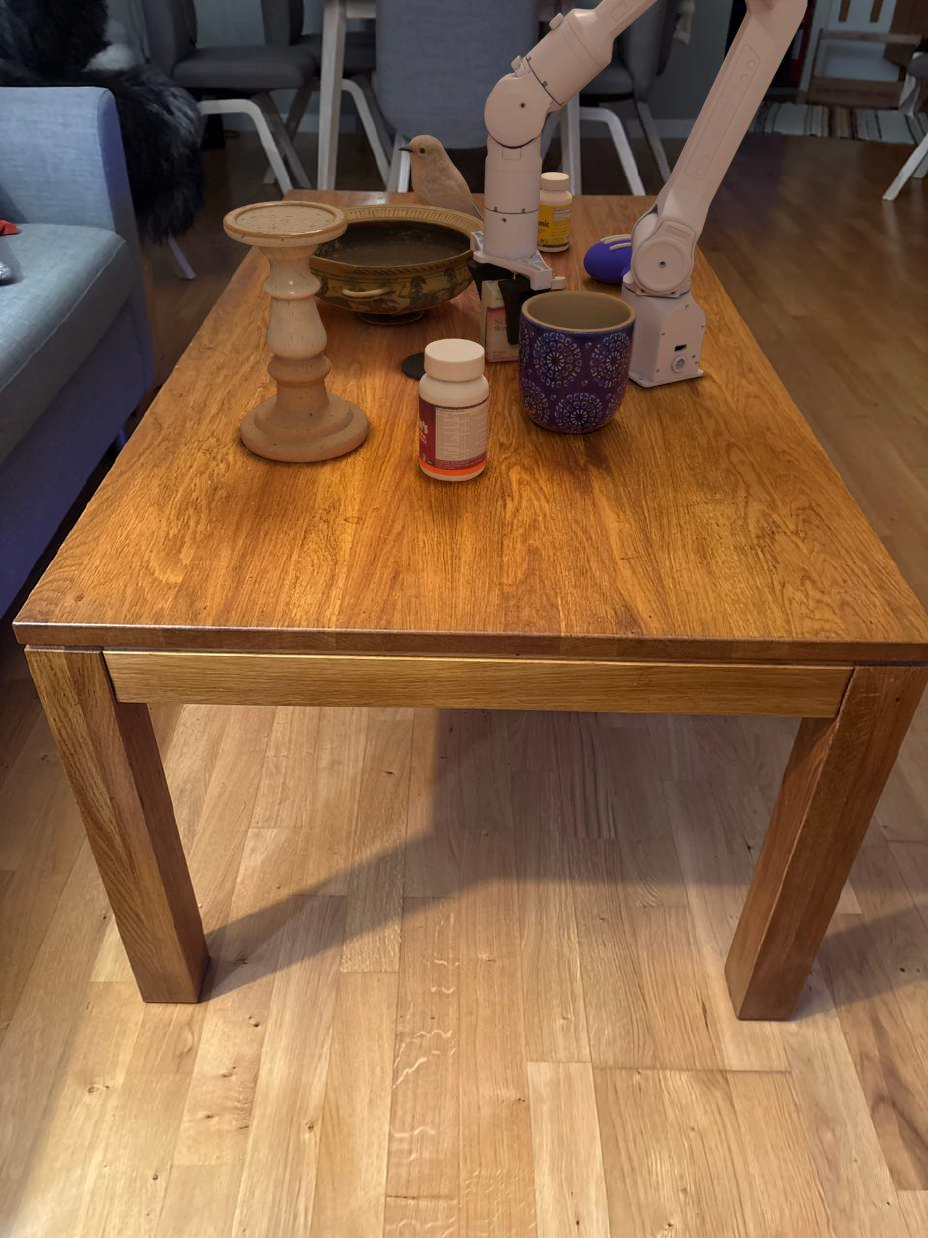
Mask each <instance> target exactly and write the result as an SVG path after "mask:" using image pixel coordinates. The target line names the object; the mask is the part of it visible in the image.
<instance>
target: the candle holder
mask: <svg viewBox="0 0 928 1238" xmlns="http://www.w3.org/2000/svg"><path fill="white" fill-rule="evenodd" d="M338 208H339V207H337V206H334V205H330V204H326V203H321V202H315V201H308V200H307V201H306V200H274V201H273V200H272V201H264V202H263V201H262V202H257V203H253V204H247V205H245V206H241V207H237V208H235V209H233V210H231V211H230V212H228V213H227V214H225V216H224V217H223V220H222V226H223V230H224V232H225V235H226V236H227V237H228V238H230V239H232V240H234V241H236V242H239V243H242V244H246V245H249V246H253V247H254V246H255V247H257V249H258V250H259V252H260V253H261V254H262V255H264V256H265V257H266V258H267V261H268V263H269V268H270V271H269V276H268V277H267V278H266V279H265V280H264V282H263V284H262V289H263V292H264V293H265V294H267V295H268V296H270V313H269V321H268V325H267V330H266V336H265V341H266V345H267V349H269V351H270V352H271V353H272V354H274V355H273V356H272V358H271V359H270V360H269V362H268V363H267V367H266V371H267V372H268V375H269V377H271V378H273V380H274V381H275V382H276V394H274V395H272V396H270V397H268V398H266V399H265V400H263V401H262V402H261V403H259V404H257V405H255V406H254V407H252V408H251V409H249V411H248V412H246V413H245V415H244V416H243V417H242V419H241V421H240V426H239V434H240V438H241V441H242V443H243V444H244V446H245V447H246V448H247V449H249V451H251V452H252V453H254V454H256V455H257V456H260V457H263V458H266V459H269V460H274V461H278V462H286V463H314V462H321V461H327V460H330V459H331V460H332V459H334V458H338V457H341V456H343V455H347V454H348V453H350V452H352V451H354V450H356V448H358V447H359V446H361V444H363V443H364V441H366V439H367V437H368V434H369V429H370V425H369V423H370V422H369V418H368V416H367V414H366V412H365V411H364V410H363V408H361V407H360V406H359V405H357V404H356V403H354V402H352V401H351V400H348V399H346V398H343V397H341V396H339V395H337V394H335V393H333V392H329V391H327V388H326V382H325V379H326V378H327V377H328V375H329V374H330V372H331V370H332V363H331V361H330V360H329V359H328V357H326V356H325V355H324V353H323V351H324V349H325V348H326V347H327V343H328V335H327V332H326V328H325V326H324V324H323V322H322V319H321V316H320V313H319V310H318V306H317V302H316V296H315V295H314V294H316V293H317V292H318V291H319V290H320V287H321V284H320V281H319V280H318V279H317V278H316V277H315V276H314V275H313V274H312V273H311V270H310V258H311V255H312V254H313V253H314V252H315V251H316V249H317V247H318V245H319V244H321V243H324V242H327V241H330V240H333V239H335V238H337V237H339V236H341V235H342V234H344V232H345V231H346V229H347V226H348V219H347V216H346V214H345V213H344V212H343V211H342V210H340V209H338Z"/></svg>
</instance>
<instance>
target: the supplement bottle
mask: <svg viewBox="0 0 928 1238" xmlns="http://www.w3.org/2000/svg"><path fill="white" fill-rule="evenodd" d="M569 182H570V176H569V175H568V174H566V173H564V172H556V171H554V172H552V171H551V172H550V171H549V172H544V173H541V188H540V204H539V220H538V236H537V249H538V251H539V252H540V251H541V252H545V253H559V252H563V251H566V250H567V249H568V248H569V246H570V236H571V235H570V234H571V224H572V223H571V222H572V211H573V210H572V209H573V195H572V194H571V191H568V190H567V189H569V185H570V184H569Z"/></svg>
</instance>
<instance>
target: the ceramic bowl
mask: <svg viewBox="0 0 928 1238" xmlns="http://www.w3.org/2000/svg"><path fill="white" fill-rule="evenodd" d="M337 208H338V209H340V210H342V211H343V212H344V213H345V214H346V216H347V219H348V226H347V229H346V231H345V232H344V234H342V235H341V236H339V237H337V238H335V239H333V240H330V241H327V242H324V243H321V244H319V245H318V247H317V249H316V251H315V252H314V253H313V254H312V255H311V258H310V270H311V273H312V274H313V275H314V276H315V277H316V278H317V279H318V280H319V281H320V284H321V287H320V290H319V291H318V292H317V293H316V294H314V296H315V298H318V299H320V300H321V301H324V302H325V303H328V304H330V305H333V306H335V307H337V308H342V309H345V310H349V311H354V312H357V314H358V318H360V319H361V320H362V321H364V322H368V323H369V324H370V323H371V324H376V325H387V326H389V325H390V326H391V325H402V324H409V323H411V322H415V321H417V320H419V319H421V318H422V316H423V315H424V313H425V311H424V310H428V309H431V308H435V307H438V306H441V305H442V304H444V303H447V302H449V301H451V300H453V299H454V298H456V297H458V296H460V295H461V294H462V293H464V292H465V291H466V290H467V289H468V288H469V287H470V286H471V285H472V283H474V279H473V277H472V275H471V273H470V271H469V269H468V262H470V261H474V259H473V253H474V252H473V251H472V249H471V250H470V242H471V232H478V231H484V223H483V222H482V221H481V220H479V219H477V218H475V217H473V216H471V215H468V214H466V213H462V212H458V211H454V210H450V209H445V208H440V207H434V206H423V205H421V204H409V203H378V204H363V205H352V206H351V205H350V206H344V207H337Z"/></svg>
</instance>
